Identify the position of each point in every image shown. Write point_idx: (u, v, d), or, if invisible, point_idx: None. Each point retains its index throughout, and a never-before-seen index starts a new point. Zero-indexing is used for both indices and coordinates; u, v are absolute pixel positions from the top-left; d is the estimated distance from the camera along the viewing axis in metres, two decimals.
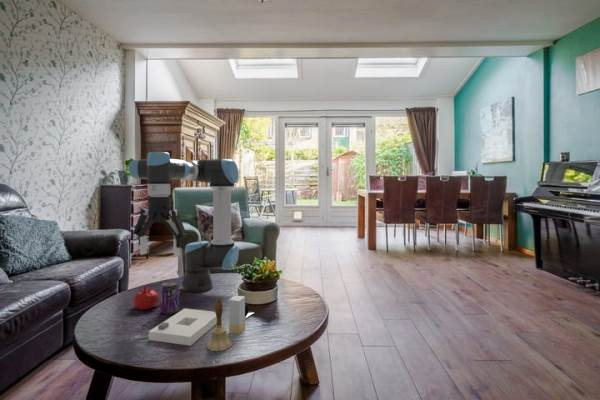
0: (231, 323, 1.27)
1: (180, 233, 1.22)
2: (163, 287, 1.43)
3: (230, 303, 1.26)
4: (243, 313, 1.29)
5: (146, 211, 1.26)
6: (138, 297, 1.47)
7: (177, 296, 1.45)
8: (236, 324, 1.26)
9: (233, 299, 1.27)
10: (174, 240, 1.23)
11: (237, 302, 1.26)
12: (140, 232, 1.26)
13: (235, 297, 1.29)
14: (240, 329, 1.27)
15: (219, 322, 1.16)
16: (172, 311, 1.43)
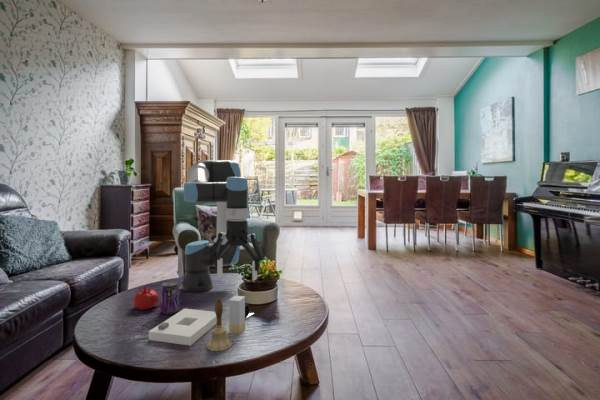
0: (231, 323, 1.27)
1: (259, 257, 1.24)
2: (163, 287, 1.43)
3: (230, 303, 1.26)
4: (243, 313, 1.29)
5: (223, 235, 1.28)
6: (138, 297, 1.47)
7: (177, 296, 1.45)
8: (236, 324, 1.26)
9: (233, 299, 1.27)
10: (253, 264, 1.24)
11: (237, 302, 1.26)
12: (217, 255, 1.28)
13: (235, 297, 1.29)
14: (240, 329, 1.27)
15: (219, 322, 1.16)
16: (172, 311, 1.43)
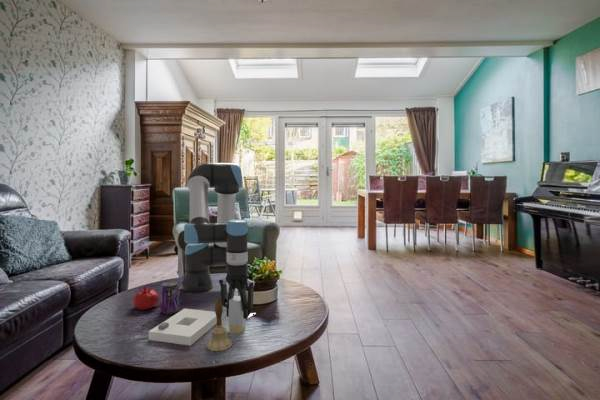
0: (231, 323, 1.27)
1: (248, 305, 1.26)
2: (163, 287, 1.43)
3: (230, 303, 1.26)
4: None
5: (224, 280, 1.29)
6: (138, 297, 1.47)
7: (177, 296, 1.45)
8: (236, 324, 1.26)
9: (233, 299, 1.27)
10: (241, 312, 1.27)
11: (237, 302, 1.26)
12: (227, 304, 1.28)
13: (235, 297, 1.29)
14: (240, 329, 1.27)
15: (219, 322, 1.16)
16: (172, 311, 1.43)
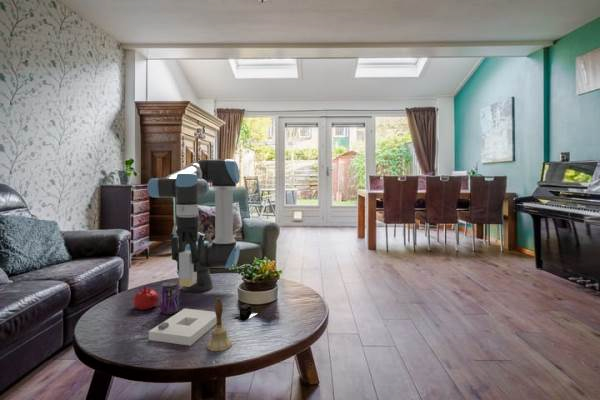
0: (181, 276, 1.26)
1: (198, 258, 1.26)
2: (163, 287, 1.43)
3: (180, 256, 1.26)
4: None
5: (175, 233, 1.28)
6: (138, 297, 1.47)
7: (177, 296, 1.45)
8: (186, 277, 1.26)
9: (183, 252, 1.26)
10: (191, 265, 1.26)
11: (186, 255, 1.25)
12: (178, 257, 1.28)
13: (186, 251, 1.29)
14: (191, 283, 1.27)
15: (219, 322, 1.16)
16: (172, 311, 1.43)
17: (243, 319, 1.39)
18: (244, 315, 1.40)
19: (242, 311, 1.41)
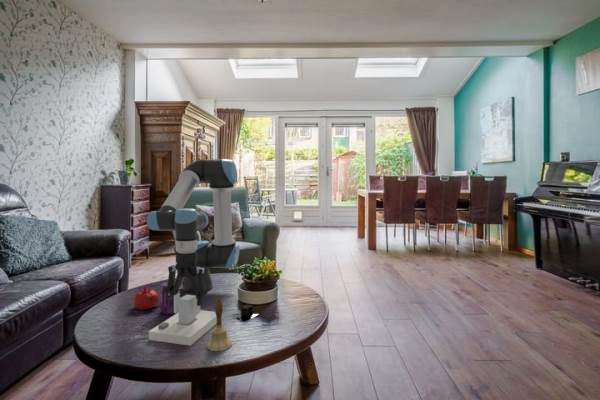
0: (180, 322, 1.27)
1: (201, 292, 1.26)
2: (163, 287, 1.43)
3: (180, 302, 1.27)
4: (193, 312, 1.30)
5: (173, 267, 1.29)
6: (138, 297, 1.47)
7: None
8: (185, 323, 1.27)
9: (183, 298, 1.27)
10: (195, 299, 1.27)
11: (186, 302, 1.26)
12: (173, 290, 1.29)
13: (186, 296, 1.29)
14: None
15: (219, 322, 1.16)
16: (172, 311, 1.43)
17: (244, 319, 1.38)
18: (245, 315, 1.40)
19: (243, 311, 1.40)
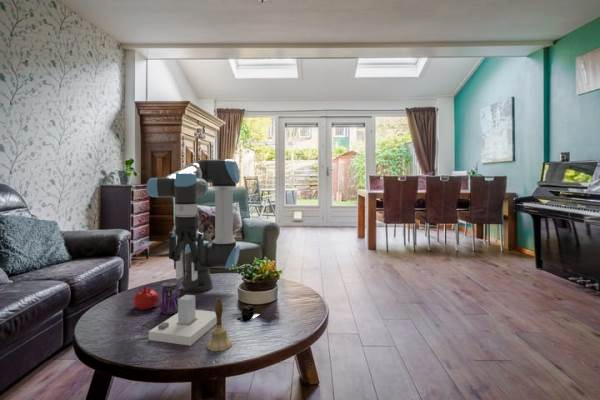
0: (180, 322, 1.27)
1: (199, 257, 1.25)
2: (163, 287, 1.43)
3: (179, 302, 1.27)
4: (193, 312, 1.30)
5: (173, 232, 1.28)
6: (138, 297, 1.47)
7: (177, 296, 1.45)
8: (185, 323, 1.27)
9: (182, 298, 1.27)
10: (192, 264, 1.26)
11: (185, 302, 1.26)
12: (175, 256, 1.28)
13: (185, 296, 1.30)
14: None
15: (219, 322, 1.16)
16: (172, 311, 1.43)
17: (245, 320, 1.38)
18: (246, 316, 1.40)
19: (245, 312, 1.40)
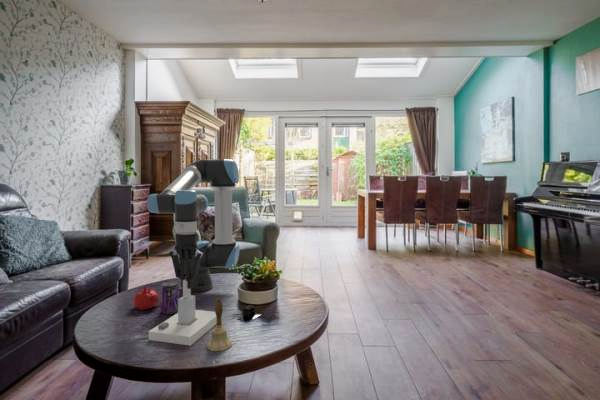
0: (180, 322, 1.27)
1: (192, 275, 1.26)
2: (163, 287, 1.43)
3: (179, 302, 1.27)
4: (193, 312, 1.30)
5: (174, 251, 1.28)
6: (138, 297, 1.47)
7: (177, 296, 1.45)
8: (185, 323, 1.27)
9: (182, 298, 1.27)
10: (185, 282, 1.27)
11: (185, 302, 1.26)
12: (181, 275, 1.27)
13: None
14: None
15: (219, 322, 1.16)
16: (172, 311, 1.43)
17: (246, 320, 1.38)
18: (247, 316, 1.39)
19: (245, 312, 1.40)
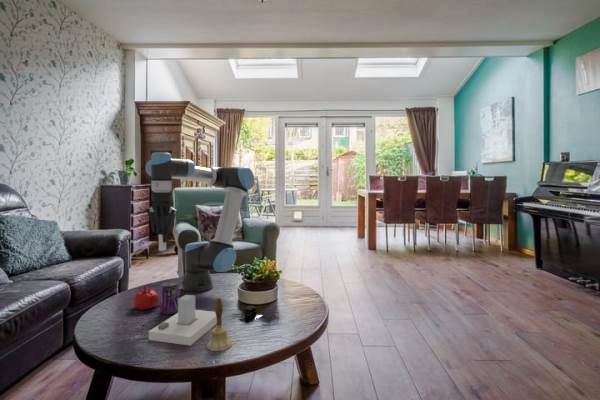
0: (180, 322, 1.27)
1: (167, 229, 1.39)
2: (163, 287, 1.43)
3: (179, 302, 1.27)
4: (193, 312, 1.30)
5: (151, 208, 1.41)
6: (138, 297, 1.47)
7: (177, 296, 1.45)
8: (185, 323, 1.27)
9: (182, 298, 1.27)
10: (161, 236, 1.40)
11: (185, 302, 1.26)
12: (157, 230, 1.40)
13: (185, 296, 1.30)
14: None
15: (219, 322, 1.16)
16: (172, 311, 1.43)
17: (248, 321, 1.37)
18: (249, 317, 1.39)
19: (247, 312, 1.39)
